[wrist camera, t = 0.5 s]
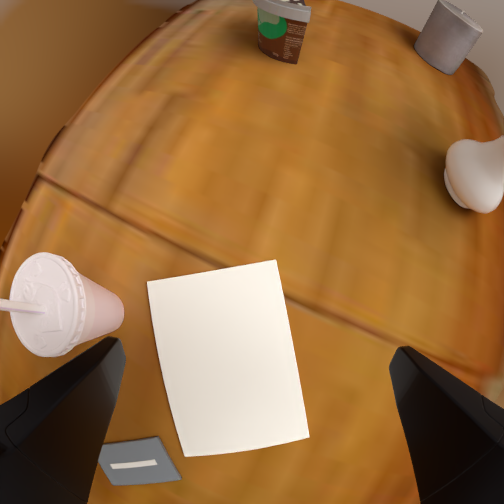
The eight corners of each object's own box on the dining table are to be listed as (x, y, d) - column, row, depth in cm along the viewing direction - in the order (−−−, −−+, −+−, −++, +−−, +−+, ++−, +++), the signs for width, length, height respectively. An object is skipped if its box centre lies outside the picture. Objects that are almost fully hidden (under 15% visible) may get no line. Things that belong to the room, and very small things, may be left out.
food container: (249, 25, 32) (252, -25, 22) (289, 28, 32) (297, -22, 22) (249, 67, 29) (253, 3, 19) (298, 70, 29) (312, 9, 20)
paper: (308, 435, 20) (309, 437, 20) (185, 454, 19) (184, 456, 19) (275, 260, 23) (275, 259, 23) (148, 282, 22) (146, 281, 22)
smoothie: (115, 361, 21) (2, 391, 7) (68, 317, 21) (-47, 304, 8) (151, 304, 22) (48, 282, 8) (100, 262, 23) (-7, 207, 9)
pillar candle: (429, 44, 36) (454, -2, 21) (460, 75, 34) (492, 30, 19) (404, 43, 34) (431, -11, 20) (439, 76, 33) (475, 23, 18)
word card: (181, 477, 18) (180, 480, 18) (114, 483, 17) (112, 485, 17) (158, 436, 19) (157, 438, 19) (91, 444, 18) (89, 446, 18)
